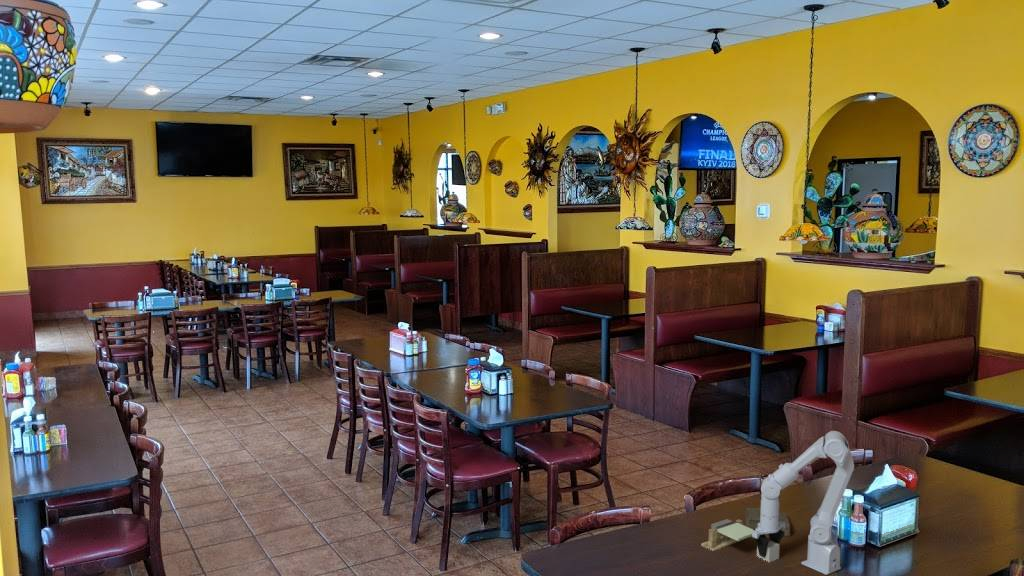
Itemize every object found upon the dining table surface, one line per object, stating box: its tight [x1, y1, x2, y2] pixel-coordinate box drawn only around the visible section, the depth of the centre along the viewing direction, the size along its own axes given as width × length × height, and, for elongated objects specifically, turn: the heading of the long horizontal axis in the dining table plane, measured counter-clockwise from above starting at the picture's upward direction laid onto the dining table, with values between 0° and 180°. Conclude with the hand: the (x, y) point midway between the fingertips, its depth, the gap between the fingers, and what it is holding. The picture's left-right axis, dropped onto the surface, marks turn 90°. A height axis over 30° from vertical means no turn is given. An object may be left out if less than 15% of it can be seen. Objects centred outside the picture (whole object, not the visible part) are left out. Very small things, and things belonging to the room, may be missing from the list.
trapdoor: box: [710, 518, 754, 542], centre depth 269 cm, size 12×10×1 cm
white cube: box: [756, 540, 780, 563], centre depth 262 cm, size 5×5×5 cm
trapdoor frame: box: [700, 518, 744, 552], centre depth 273 cm, size 5×15×7 cm, turn 124°
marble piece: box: [744, 507, 791, 537], centre depth 288 cm, size 17×15×4 cm
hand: (767, 553), depth 262 cm, fingers closed on white cube, 5 cm apart
